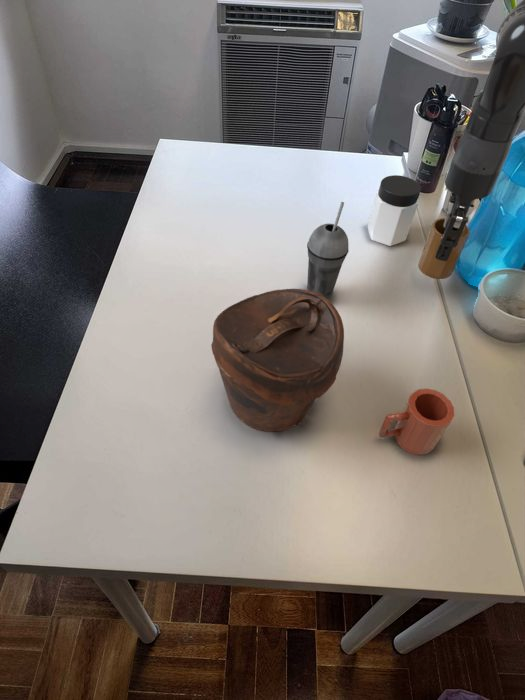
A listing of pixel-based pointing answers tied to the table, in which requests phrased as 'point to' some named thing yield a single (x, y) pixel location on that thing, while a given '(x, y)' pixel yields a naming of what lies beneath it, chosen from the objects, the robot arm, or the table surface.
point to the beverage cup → (326, 256)
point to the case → (277, 355)
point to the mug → (420, 421)
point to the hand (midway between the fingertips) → (443, 247)
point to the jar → (393, 210)
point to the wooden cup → (428, 260)
